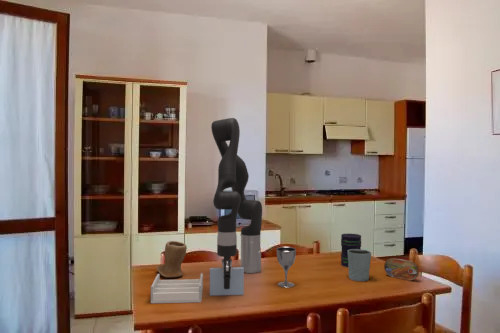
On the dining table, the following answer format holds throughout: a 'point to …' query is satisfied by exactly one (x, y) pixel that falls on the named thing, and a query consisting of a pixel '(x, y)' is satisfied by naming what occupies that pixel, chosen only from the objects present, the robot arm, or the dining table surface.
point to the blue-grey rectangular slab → (235, 282)
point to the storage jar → (349, 246)
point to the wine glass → (286, 262)
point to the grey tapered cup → (359, 264)
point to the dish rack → (176, 290)
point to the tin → (401, 269)
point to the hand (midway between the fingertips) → (226, 287)
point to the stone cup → (173, 259)
